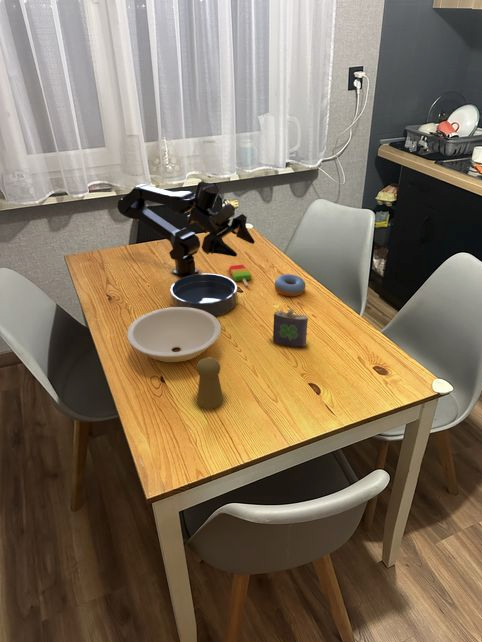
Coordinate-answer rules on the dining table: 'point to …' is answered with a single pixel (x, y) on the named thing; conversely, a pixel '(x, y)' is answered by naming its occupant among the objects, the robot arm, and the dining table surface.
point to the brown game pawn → (209, 384)
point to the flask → (290, 329)
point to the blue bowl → (205, 293)
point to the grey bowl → (174, 333)
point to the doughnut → (289, 285)
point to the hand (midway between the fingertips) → (245, 249)
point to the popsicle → (240, 273)
